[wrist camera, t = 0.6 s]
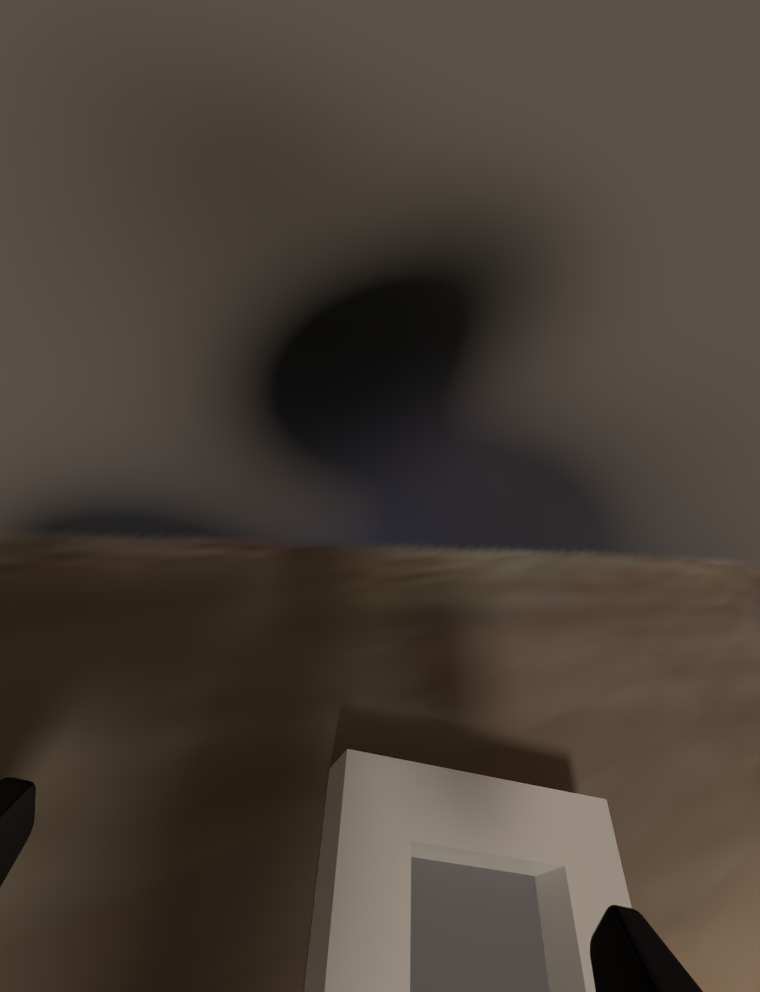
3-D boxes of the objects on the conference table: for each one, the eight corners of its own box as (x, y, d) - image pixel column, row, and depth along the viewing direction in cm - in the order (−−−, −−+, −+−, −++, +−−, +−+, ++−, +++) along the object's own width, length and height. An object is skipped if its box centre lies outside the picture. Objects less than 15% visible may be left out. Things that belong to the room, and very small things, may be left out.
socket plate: (656, 1257, 16) (719, 1285, 14) (272, 1264, 14) (295, 1299, 12) (572, 813, 25) (606, 799, 23) (329, 769, 22) (347, 748, 20)
